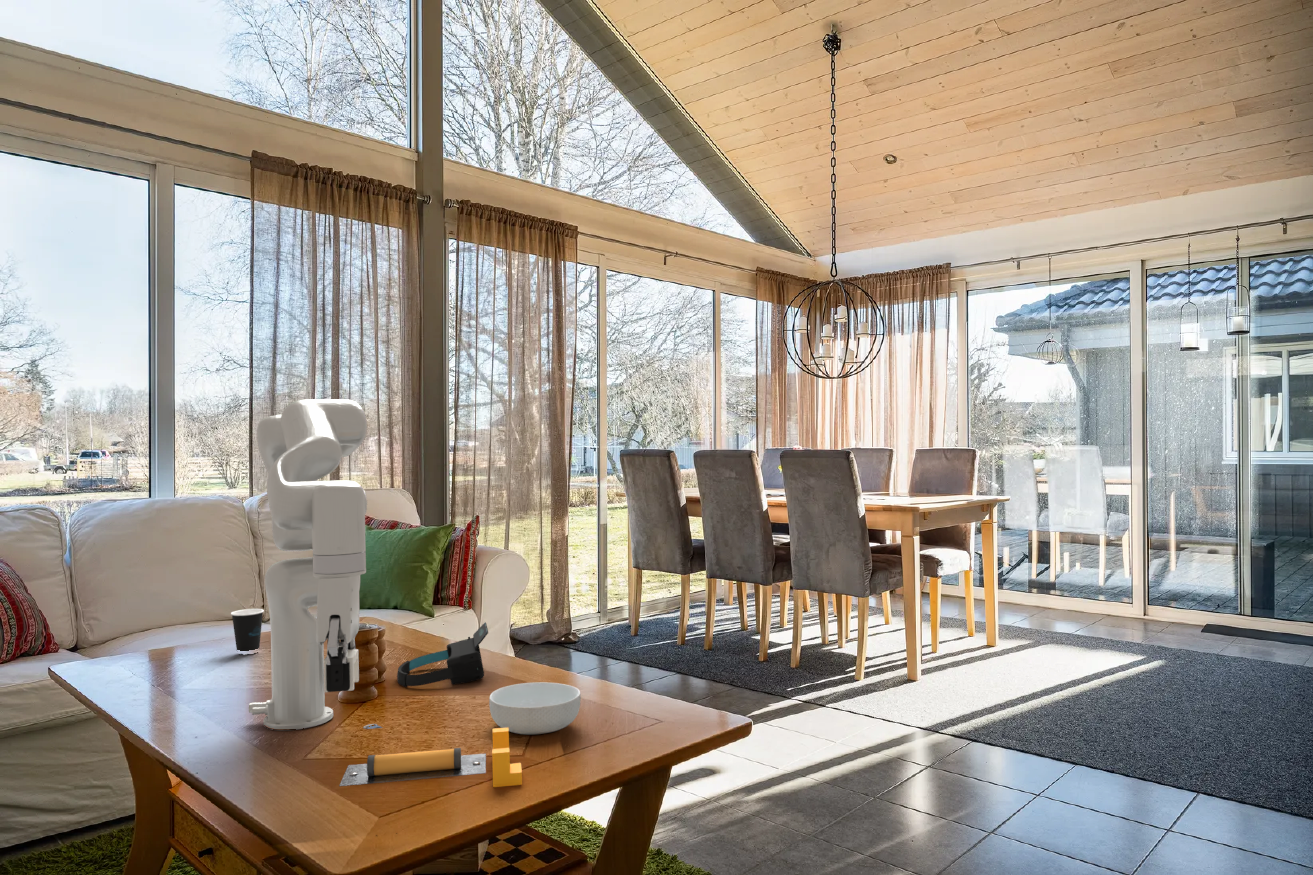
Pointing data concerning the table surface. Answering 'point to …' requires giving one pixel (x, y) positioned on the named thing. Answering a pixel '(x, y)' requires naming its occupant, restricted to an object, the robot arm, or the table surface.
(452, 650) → the virtual reality headset
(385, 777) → the mounting plate
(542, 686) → the cereal bowl
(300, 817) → the table surface
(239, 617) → the dixie cup
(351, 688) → the white u-shaped block
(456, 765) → the handle
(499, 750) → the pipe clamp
